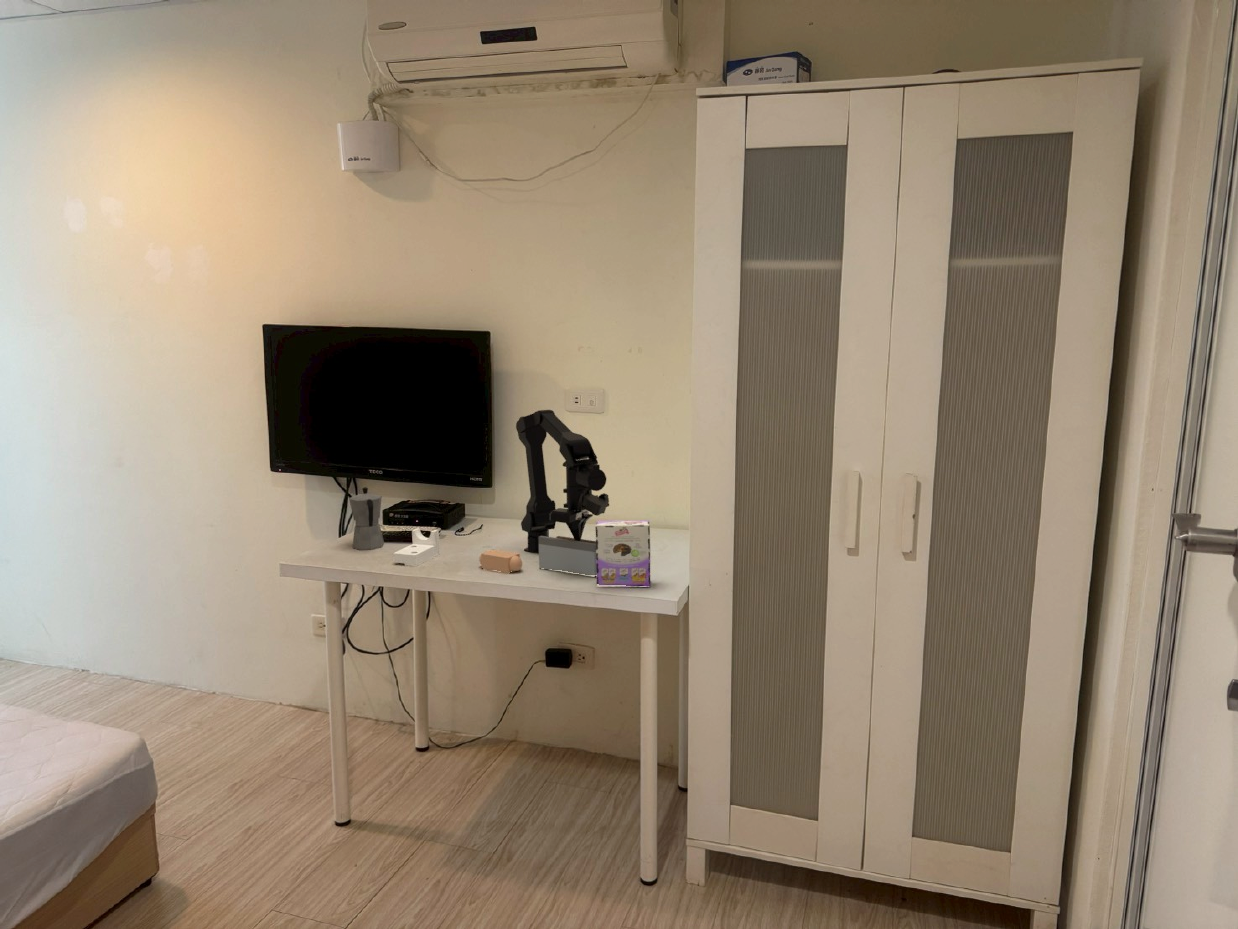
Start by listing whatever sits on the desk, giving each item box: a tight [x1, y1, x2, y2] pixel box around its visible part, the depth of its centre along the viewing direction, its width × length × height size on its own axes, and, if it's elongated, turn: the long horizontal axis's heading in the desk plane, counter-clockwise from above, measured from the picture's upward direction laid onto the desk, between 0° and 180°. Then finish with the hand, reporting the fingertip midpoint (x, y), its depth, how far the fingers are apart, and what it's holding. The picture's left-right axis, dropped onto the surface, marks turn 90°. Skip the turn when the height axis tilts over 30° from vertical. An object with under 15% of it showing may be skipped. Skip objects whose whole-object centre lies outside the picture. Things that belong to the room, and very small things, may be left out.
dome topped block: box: [478, 549, 523, 574], centre depth 239 cm, size 5×13×4 cm, turn 61°
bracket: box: [392, 527, 440, 566], centre depth 249 cm, size 13×7×8 cm, turn 162°
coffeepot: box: [349, 486, 385, 551], centre depth 261 cm, size 15×9×18 cm, turn 26°
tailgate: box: [538, 536, 597, 575], centre depth 234 cm, size 1×18×9 cm, turn 61°
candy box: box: [594, 519, 651, 587], centre depth 224 cm, size 14×6×16 cm, turn 88°
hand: (577, 541), depth 239 cm, fingers closed
